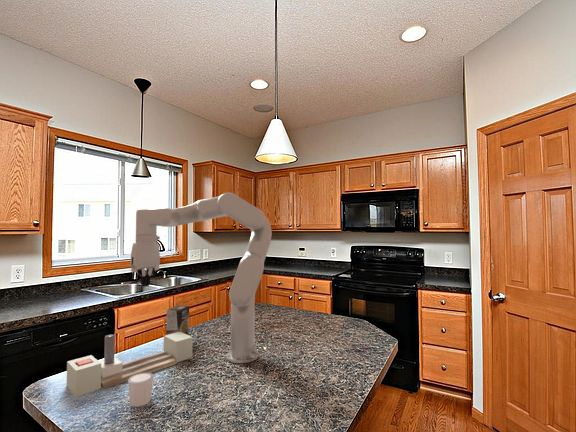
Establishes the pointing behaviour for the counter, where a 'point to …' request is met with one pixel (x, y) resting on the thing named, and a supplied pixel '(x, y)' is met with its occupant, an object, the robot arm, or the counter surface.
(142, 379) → the pale pink cylinder cup
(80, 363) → the red block
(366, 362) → the counter surface
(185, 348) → the cabinet
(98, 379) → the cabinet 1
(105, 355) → the carriage
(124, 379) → the rail track
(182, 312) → the coffee box
